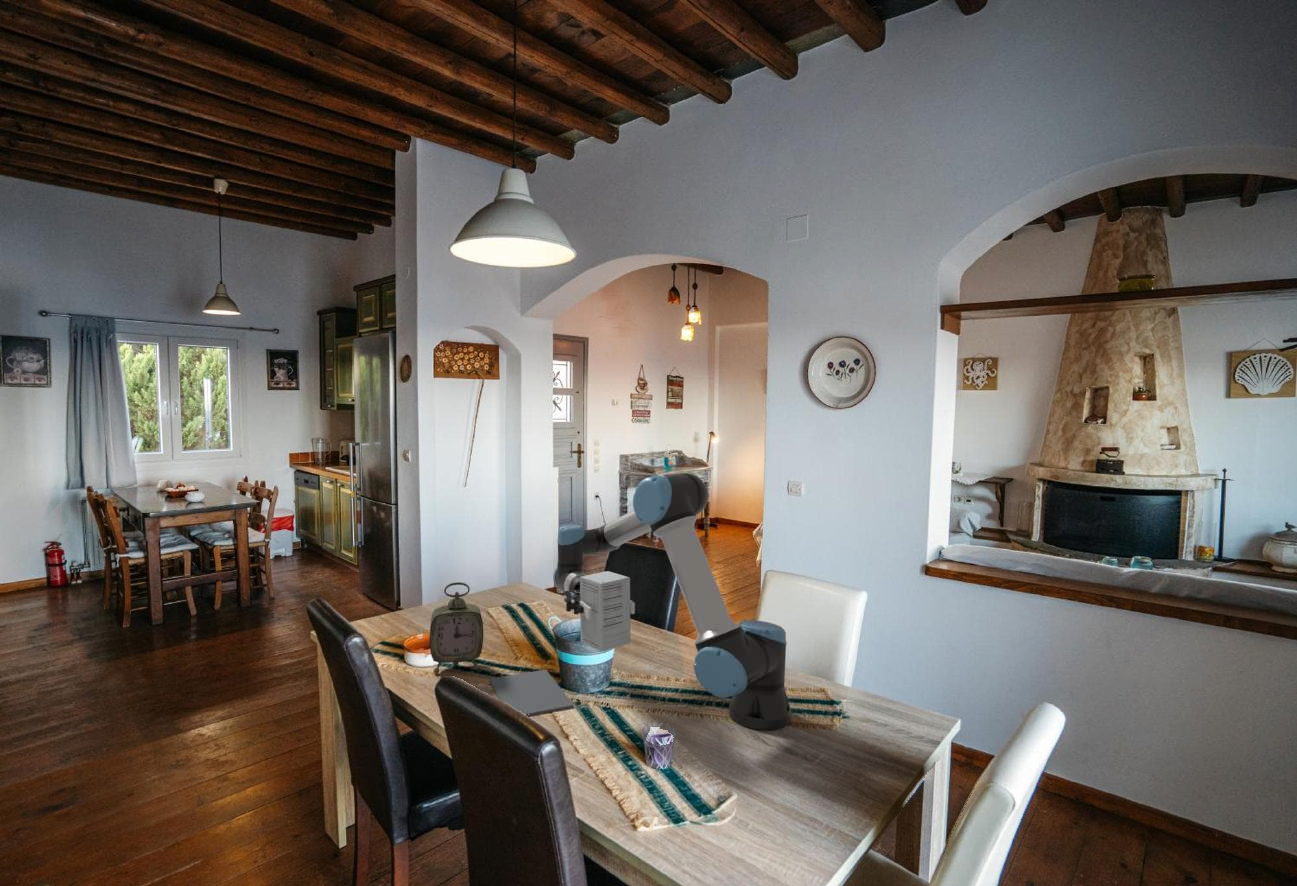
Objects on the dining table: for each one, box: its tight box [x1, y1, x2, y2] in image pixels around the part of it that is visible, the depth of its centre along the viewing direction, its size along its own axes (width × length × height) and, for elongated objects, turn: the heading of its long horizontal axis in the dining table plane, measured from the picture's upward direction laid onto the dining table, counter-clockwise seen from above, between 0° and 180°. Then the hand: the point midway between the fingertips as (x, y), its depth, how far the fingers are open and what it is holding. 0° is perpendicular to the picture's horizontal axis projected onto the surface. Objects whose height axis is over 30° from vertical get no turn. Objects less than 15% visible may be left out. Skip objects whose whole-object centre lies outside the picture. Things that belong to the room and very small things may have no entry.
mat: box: [489, 669, 574, 717], centre depth 167 cm, size 24×16×1 cm, turn 26°
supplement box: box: [579, 570, 631, 652], centre depth 159 cm, size 10×9×17 cm
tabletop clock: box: [429, 581, 484, 675], centre depth 181 cm, size 14×9×25 cm, turn 108°
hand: (612, 611), depth 155 cm, fingers closed on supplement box, 11 cm apart
